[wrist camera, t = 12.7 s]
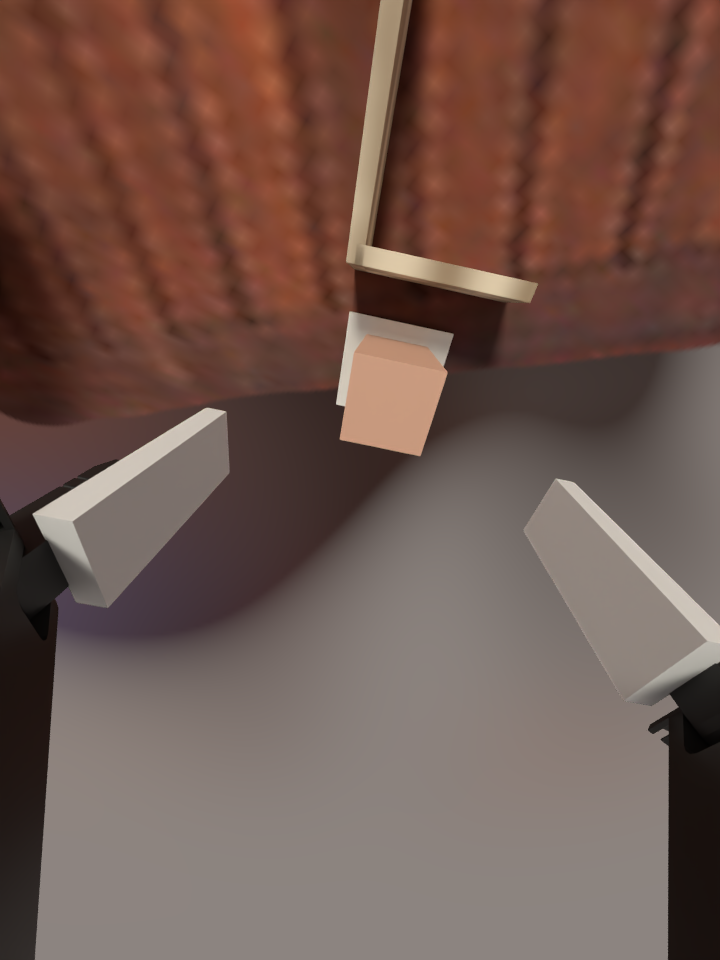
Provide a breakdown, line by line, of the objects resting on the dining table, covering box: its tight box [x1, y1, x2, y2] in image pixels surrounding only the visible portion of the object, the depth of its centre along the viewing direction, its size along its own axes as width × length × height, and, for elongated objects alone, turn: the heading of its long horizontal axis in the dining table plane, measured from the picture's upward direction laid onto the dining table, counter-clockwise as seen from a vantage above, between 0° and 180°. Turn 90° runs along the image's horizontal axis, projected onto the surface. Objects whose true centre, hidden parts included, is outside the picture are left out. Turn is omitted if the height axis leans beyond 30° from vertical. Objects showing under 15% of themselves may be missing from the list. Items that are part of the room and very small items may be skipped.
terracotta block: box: [340, 334, 448, 456], centre depth 26 cm, size 6×6×12 cm
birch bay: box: [346, 0, 538, 303], centre depth 18 cm, size 14×24×6 cm, turn 169°
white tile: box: [336, 311, 454, 406], centre depth 31 cm, size 10×9×1 cm
